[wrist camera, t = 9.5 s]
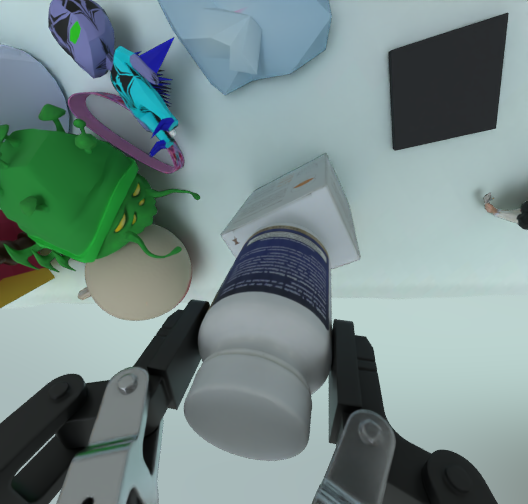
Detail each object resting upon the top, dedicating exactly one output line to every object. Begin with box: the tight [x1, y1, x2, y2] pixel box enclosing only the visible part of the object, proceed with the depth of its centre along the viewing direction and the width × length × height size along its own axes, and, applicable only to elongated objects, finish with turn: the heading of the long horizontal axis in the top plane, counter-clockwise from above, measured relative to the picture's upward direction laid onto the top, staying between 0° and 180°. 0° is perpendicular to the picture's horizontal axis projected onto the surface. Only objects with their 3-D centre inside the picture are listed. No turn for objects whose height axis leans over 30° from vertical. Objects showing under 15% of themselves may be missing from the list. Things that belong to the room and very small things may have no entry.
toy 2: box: [78, 224, 192, 321], centre depth 29 cm, size 10×12×10 cm
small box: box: [221, 154, 360, 269], centre depth 22 cm, size 8×6×10 cm
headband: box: [68, 92, 184, 174], centre depth 26 cm, size 11×4×2 cm, turn 59°
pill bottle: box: [184, 223, 332, 461], centre depth 12 cm, size 5×5×10 cm
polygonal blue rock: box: [158, 0, 332, 95], centre depth 20 cm, size 13×7×5 cm, turn 94°
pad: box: [389, 13, 508, 151], centre depth 20 cm, size 7×7×1 cm
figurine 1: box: [48, 0, 178, 158], centre depth 21 cm, size 7×6×12 cm
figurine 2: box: [0, 104, 200, 272], centre depth 22 cm, size 13×15×10 cm
